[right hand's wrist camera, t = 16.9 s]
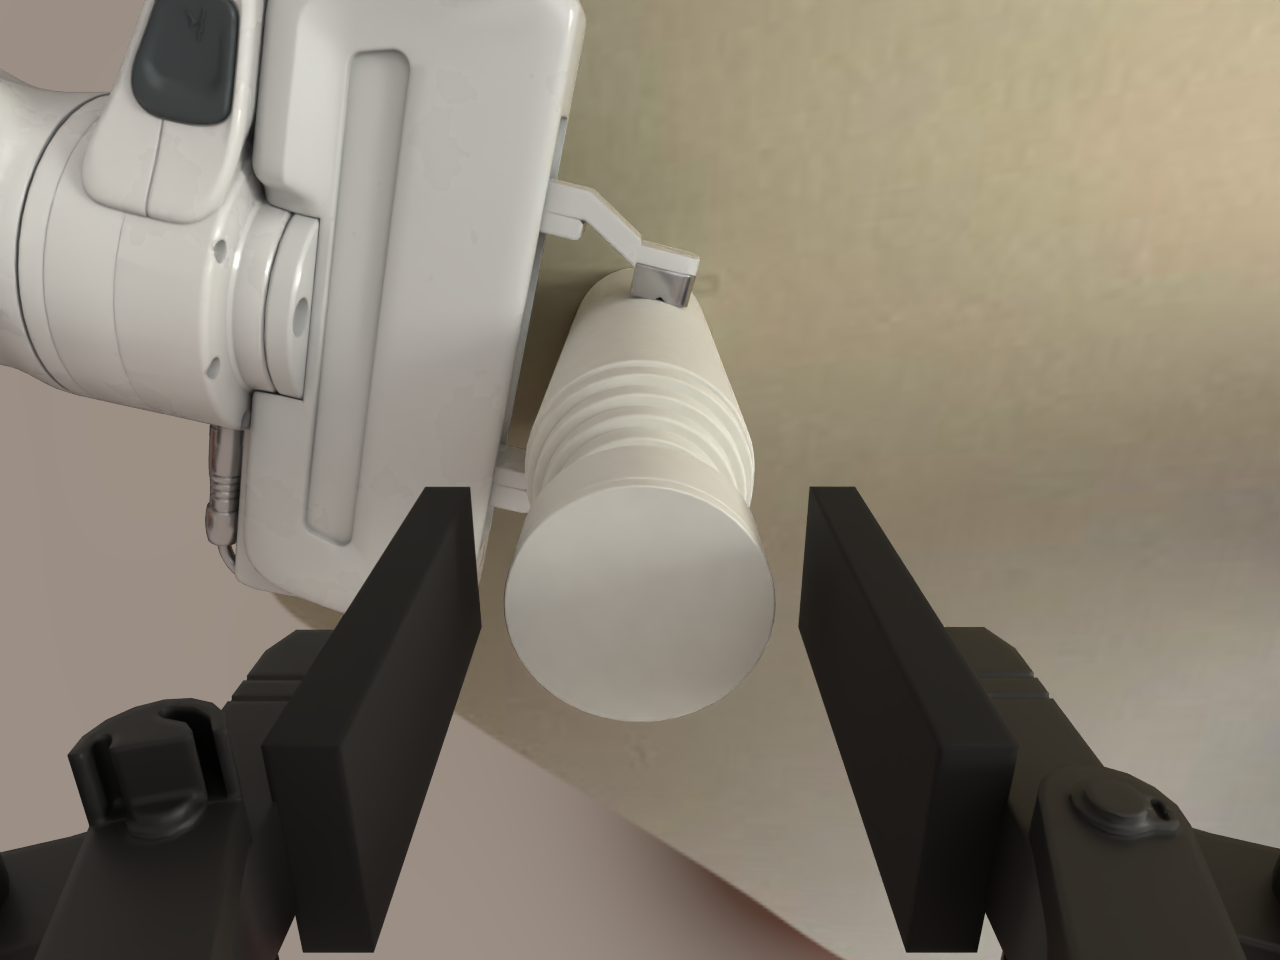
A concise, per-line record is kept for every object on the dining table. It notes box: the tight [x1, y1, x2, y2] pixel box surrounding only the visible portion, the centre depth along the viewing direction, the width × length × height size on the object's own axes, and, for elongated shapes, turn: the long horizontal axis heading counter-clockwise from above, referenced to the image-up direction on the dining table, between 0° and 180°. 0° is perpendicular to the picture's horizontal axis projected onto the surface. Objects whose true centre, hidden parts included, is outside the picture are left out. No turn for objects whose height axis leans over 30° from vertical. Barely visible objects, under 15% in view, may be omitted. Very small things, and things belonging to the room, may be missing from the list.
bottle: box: [525, 267, 755, 507], centre depth 23 cm, size 5×5×20 cm
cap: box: [504, 445, 775, 722], centre depth 14 cm, size 4×4×2 cm
